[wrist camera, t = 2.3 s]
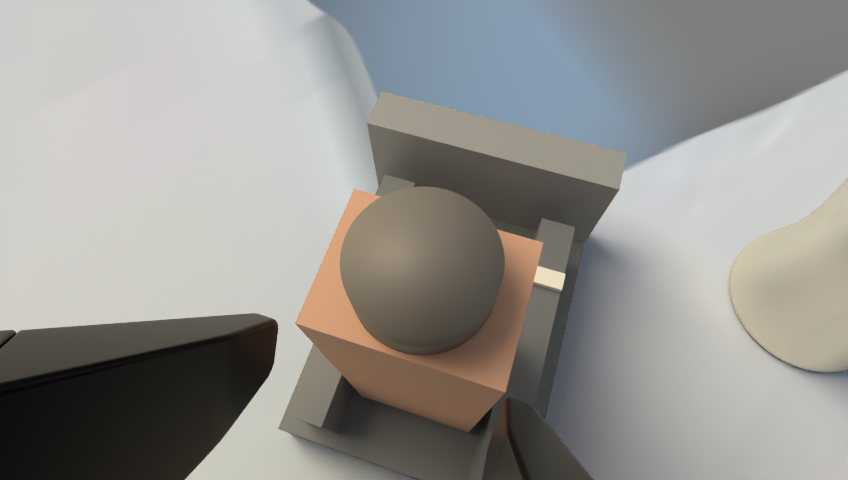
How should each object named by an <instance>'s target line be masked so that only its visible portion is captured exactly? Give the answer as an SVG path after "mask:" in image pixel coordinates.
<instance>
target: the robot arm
mask: <svg viewBox="0 0 848 480" xmlns="http://www.w3.org/2000/svg"><path fill="white" fill-rule="evenodd" d="M277 334H278V324H277V322H276V320H274V319H272V318H269V317H266V316H263V315H260V314H255V313H251V314H237V315H224V316H210V317H196V318H182V319H169V320H155V321H141V322H128V323H114V324H100V325H87V326H73V327H59V328H45V329H32V330H21V331H19V332H18V333H17V334H16V332H15V331H14V330H4V331H0V480H185V479H186V478H187V477H188V475H189V474H190V473H191V472H192V471H193V470H194V469H195V468H196V467H197V466H198V465H199V464H200V463H201V462H202V461H203V459H204V458H205V457H206V456H207V455H208V454H209V453H210V452H211V451H212V450H213V449H214V447H215V446H216V445H217V444H218V443H219V442H220V441H221V440H222V438H223V437H224V436H225V434H226V433H227V432H228V431H229V429H230V428H231V427H232V425H233V424H234V423H235V421H236V420H237V418H238V417H239V416H240V414H241V413H242V412H243V410H244V409H245V408H246V406H247V405H248V403H249V402H250V401H251V399H252V398H253V397H254V395H255V394H256V393H257V391H258V390H259V388H260V387H261V386H262V384H263V383H264V382H265V380H266V379H267V377H268V376H269V374H270V372H271V370H272V367H273V364H274V358H275V350H276V342H277ZM482 480H594V479H593V478H592V477H591V476H590V475H589V473H588V472H587V471H586V470H585V469H584V467H583V466H582V465H581V464H580V463H579V461H578V460H577V459H576V458H575V457H574V455H573V454H572V453H571V452H570V451H569V449H568V448H567V447H566V446H565V445H564V443H563V442H562V441H561V440H560V439H559V437H558V436H557V435H556V434H555V433H554V431H553V430H552V429H551V428H550V427H549V425H548V424H547V423H546V422H545V421H544V419H543V418H542V417H541V416H540V415H539V413H538V412H537V411H536V410H535V409H534V407H533V406H532V405H531V404H529V403H527V402H524V401H521V400H518V399H515V398H512V397H507V398H505V399H504V401H503V403H502V406H501V409H500V412H499V415H498V418H497V421H496V424H495V427H494V430H493V433H492V436H491V439H490V442H489V446H488V450H487V455H486V460H485V465H484V470H483V475H482Z"/></svg>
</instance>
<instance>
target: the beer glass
mask: <svg viewBox="0 0 848 480" xmlns="http://www.w3.org/2000/svg"><path fill="white" fill-rule="evenodd" d="M730 294H731V299H732V303H733V306H734V308H735V311H736V313H737V315H738V317H739V319H740V321H741V322H742V324H743V326H744V327H745V328H746V330H747V331H748V332H749V334H750V335H751V336H752V337H753V338H754V339H755V340H756V341H757V342H758V343H759V344H760V345H761V346H762V347H763V348H764V349H766V350H767V351H768V352H770V353H771V354H773V355H774V356H776V357H777V358H779V359H781V360H782V361H784V362H786V363H788V364H791V365H793V366H796V367H798V368H802V369H805V370H809V371H815V372H841V371H845V370H848V177H847V178H846V179H845V181H844V182H843V183H842V184H841V185H840V186H839V187H838V188H837V189H836V190H835V191H834V192H833V193H832V194H831V195H830V197H829V198H828V199H827V200H826V201H825V202H824V203H823V204H822V205H821V206H819V207H818V208H817V209H816V210H814V211H813V212H812V213H811V214H809V215H808V216H806V217H804V218H803V219H801V220H800V221H798V222H795V223H793V224H791V225H789V226H786V227H784V228H781V229H778V230H776V231H773V232H771V233H768V234H766V235H763V236H761V237H759V238H757V239H755V240H754V241H752V242H751V243H749V244H748V245H747V246H746V247H745V248H744V249H743V250H742V251H741V252H740V253H739V255H738V256H737V258H736V259H735V261H734V264H733V266H732V269H731V273H730Z"/></svg>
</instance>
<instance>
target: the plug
mask: <svg viewBox="0 0 848 480" xmlns="http://www.w3.org/2000/svg"><path fill="white" fill-rule="evenodd" d="M542 246H543V242H540V241H536V240H533V239H529V238H525V237H522V236H518V235H515V234H511V233H508V232H504V231H501V230H497V229H496V227H495V225H494V224H493V222H492V221H491V220H490V218H489V217H488V216H487V215H486V213H485V212H484V211H483V210H482V209H481V208H480V207H478V206H477V205H476V204H475V203H473V202H472V201H470V200H469V199H467V198H466V197H464V196H462V195H460V194H457V193H455V192H452V191H449V190H446V189H442V188H437V187H427V186H422V187H409V188H404V189H400V190H396V191H393V192H391V193H388V194H386V195H384V196H382V197H381V196H377V195H374V194H370V193H367V192H363V191H360V190H356V189H354V190H353V193H352V195H351V197H350V199H349V202H348V204H347V206H346V209H345V211H344V213H343V215H342V218H341V220H340V222H339V225H338V227H337V229H336V231H335V234H334V236H333V238H332V241H331V243H330V245H329V248H328V250H327V252H326V254H325V257H324V259H323V261H322V264H321V266H320V268H319V270H318V273H317V275H316V277H315V280H314V282H313V284H312V286H311V289H310V291H309V293H308V296H307V298H306V300H305V303H304V305H303V307H302V309H301V312H300V314H299V316H298V319H297V321H296V323H295V324H296V325H297V326H298V327H299V328H300V329H301V330H302V331H303V332H304V334H305V335H306V336H307V337H308V338H309V339H310V340H311V341H312V342H313V343H314V344H315V346H316V347H317V348H318V349H319V350H320V351H321V352H322V353H323V354H324V355H325V357H326V358H327V359H328V360H329V361H330V362H331V363H332V364H333V365H334V366H335V367H336V369H337V370H338V371H339V372H340V373H341V374H342V375H343V376H344V377H345V378H346V379H347V381H348V382H349V383H350V384H351V385H352V386H353V387H354V388H355V389H356V390H357V392H358V393H359V394H360V395H361V396H363V397H366V398H369V399H371V400H374V401H377V402H380V403H383V404H386V405H389V406H392V407H395V408H398V409H401V410H404V411H406V412H409V413H412V414H415V415H418V416H421V417H424V418H427V419H430V420H433V421H436V422H439V423H442V424H444V425H447V426H450V427H453V428H456V429H459V430H462V431H465V432H469V431H470V430H471V429H472V428H473V427H474V426H475V425H476V424H477V423H478V422H479V420H480V419H481V418H482V417H483V416H484V415H485V414H486V413H487V412H488V411H489V410H490V409H491V407H492V406H493V405H494V404H495V403H496V402H497V401H498V400H499V399H500V398H501V397H502V396H503V394H504V393H505V392H506V388H507V384H508V380H509V376H510V372H511V368H512V365H513V361H514V357H515V353H516V349H517V345H518V341H519V337H520V333H521V329H522V325H523V321H524V317H525V313H526V309H527V305H528V301H529V298H530V294H531V290H532V286H533V282H534V278H535V274H536V270H537V266H538V262H539V258H540V254H541V250H542Z"/></svg>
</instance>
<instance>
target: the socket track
mask: <svg viewBox="0 0 848 480" xmlns="http://www.w3.org/2000/svg"><path fill="white" fill-rule="evenodd" d="M367 125H368V130H369V136H370V141H371V146H372V152H373V157H374V163H375V168H376V174H377V179H378V184H379V187H378V190H377V192H376V195H377V196H381V197H382V196H384V195H386V194H388V193H391V192H393V191H396V190H400V189H404V188H409V187H422V186H427V187H437V188H442V189H446V190H449V191H452V192H455V193H457V194H460V195H462V196H464V197H466V198H467V199H469V200H470V201H472V202H473V203H475V204H476V205H477V206H478V207H480V208H481V209H482V210H483V211H484V212H485V213H486V215H487V216H488V217H489V218H490V220H491V221H492V222H493V224H494V225H495V227H496V229H497V230H501V231H504V232H508V233H511V234H515V235H518V236H522V237H525V238H529V239H533V240H536V241H540V242H543V246H542V250H541V254H540V258H539V262H538V266H537V270H536V274H535V278H534V282H533V286H532V290H531V294H530V298H529V301H528V305H527V309H526V313H525V317H524V321H523V325H522V329H521V333H520V337H519V341H518V345H517V349H516V353H515V357H514V361H513V365H512V368H511V372H510V376H509V380H508V384H507V388H506V392H505V393H504V394H503V396H502V397H501V398H500V399H499V400H498V401H497V402H496V403H495V404H494V405H493V406H492V407H491V409H490V410H489V411H488V412H487V413H486V414H485V415H484V416H483V417H482V418H481V419H480V420H479V422H478V423H477V424H476V425H475V426H474V427H473V428H472V429H471V430H470V431H469V432H465V431H462V430H459V429H456V428H453V427H450V426H447V425H444V424H442V423H439V422H436V421H433V420H430V419H427V418H424V417H421V416H418V415H415V414H412V413H409V412H406V411H404V410H401V409H398V408H395V407H392V406H389V405H386V404H383V403H380V402H377V401H374V400H371V399H369V398H366V397H363V396H361V395H360V394H359V393H358V392H357V390H356V389H355V388H354V387H353V386H352V385H351V384H350V383H349V382H348V381H347V379H346V378H345V377H344V376H343V375H342V374H341V373H340V372H339V371H338V370H337V369H336V367H335V366H334V365H333V364H332V363H331V362H330V361H329V360H328V359H327V358H326V357H325V355H324V354H323V353H322V352H321V351H320V350H319V349H318V348H317V347H316V346H315V344H313V346H312V349H311V351H310V354H309V356H308V358H307V361H306V363H305V366H304V368H303V370H302V373H301V375H300V378H299V380H298V382H297V385H296V387H295V390H294V392H293V395H292V397H291V399H290V402H289V404H288V407H287V409H286V411H285V414H284V416H283V419H282V421H281V423H280V426H279V428H278V429H280V430H283V431H286V432H288V433H291V434H294V435H297V436H299V437H302V438H305V439H308V440H311V441H313V442H316V443H319V444H322V445H324V446H327V447H330V448H333V449H336V450H338V451H341V452H344V453H347V454H349V455H352V456H355V457H358V458H361V459H363V460H366V461H369V462H372V463H374V464H377V465H380V466H383V467H385V468H388V469H391V470H394V471H397V472H399V473H402V474H405V475H408V476H410V477H413V478H416V479H419V480H482V475H483V470H484V465H485V460H486V455H487V450H488V446H489V442H490V439H491V436H492V433H493V430H494V427H495V424H496V421H497V418H498V415H499V412H500V409H501V406H502V403H503V401H504V399H505V398H507V397H512V398H515V399H518V400H521V401H524V402H527V403H529V404H531V405H532V406H533V407H534V409H535V410H536V411H537V412H538V413H539V415H540V416H541V417H542V418H543V419H544V420H545V416H546V411H547V407H548V402H549V398H550V393H551V388H552V384H553V379H554V375H555V370H556V366H557V361H558V357H559V352H560V347H561V343H562V338H563V334H564V329H565V325H566V320H567V316H568V311H569V306H570V302H571V297H572V293H573V288H574V284H575V279H576V275H577V270H578V265H579V261H580V256H581V252H582V247H583V243H584V242H585V240H586V239H587V237H588V236H589V234H590V233H591V231H592V230H593V228H594V227H595V225H596V224H597V222H598V221H599V219H600V218H601V216H602V215H603V213H604V212H605V210H606V209H607V207H608V206H609V204H610V203H611V201H612V200H613V198H614V197H615V195H616V194H617V192H618V191H619V189H620V184H621V179H622V173H623V168H624V163H625V158H626V153H623V152H619V151H615V150H611V149H607V148H603V147H599V146H596V145H591V144H588V143H584V142H580V141H576V140H572V139H568V138H564V137H559V136H556V135H552V134H548V133H544V132H540V131H536V130H532V129H528V128H524V127H520V126H517V125H513V124H508V123H505V122H501V121H496V120H493V119H489V118H485V117H481V116H477V115H473V114H469V113H465V112H461V111H457V110H453V109H449V108H446V107H442V106H438V105H434V104H430V103H426V102H422V101H418V100H413V99H410V98H406V97H402V96H398V95H394V94H390V93H386V92H381V94H380V96H379V98H378V100H377V102H376V105H375V107H374V109H373V111H372V113H371V116H370V118H369V120H368V122H367Z"/></svg>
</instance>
